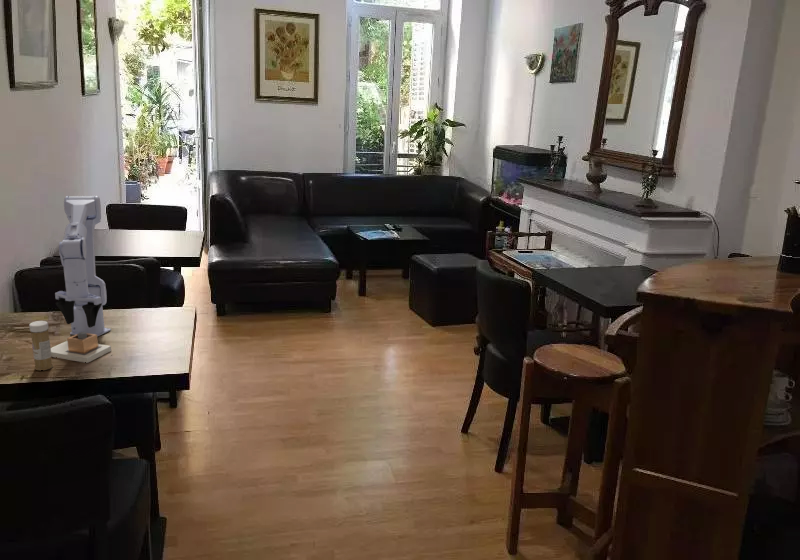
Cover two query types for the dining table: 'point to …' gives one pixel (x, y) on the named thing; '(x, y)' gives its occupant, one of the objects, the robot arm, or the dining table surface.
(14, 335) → the dining table surface
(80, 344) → the small wooden box
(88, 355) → the post stand
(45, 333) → the sprinkles bottle
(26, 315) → the dining table surface
